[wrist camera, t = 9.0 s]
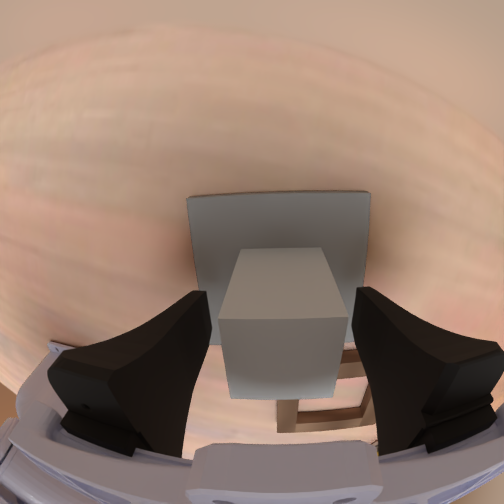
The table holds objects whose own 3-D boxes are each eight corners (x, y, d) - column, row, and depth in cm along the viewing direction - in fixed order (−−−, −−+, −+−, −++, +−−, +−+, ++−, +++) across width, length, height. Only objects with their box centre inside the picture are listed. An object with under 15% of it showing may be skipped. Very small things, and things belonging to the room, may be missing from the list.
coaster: (210, 338, 17) (209, 344, 16) (190, 196, 14) (186, 198, 13) (351, 336, 16) (353, 341, 15) (366, 191, 13) (370, 193, 12)
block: (245, 315, 15) (230, 398, 10) (240, 248, 14) (217, 318, 8) (316, 314, 15) (332, 397, 9) (320, 247, 13) (348, 316, 8)
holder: (277, 421, 20) (277, 432, 19) (277, 353, 17) (277, 366, 16) (372, 413, 19) (374, 424, 18) (398, 344, 16) (404, 355, 15)
